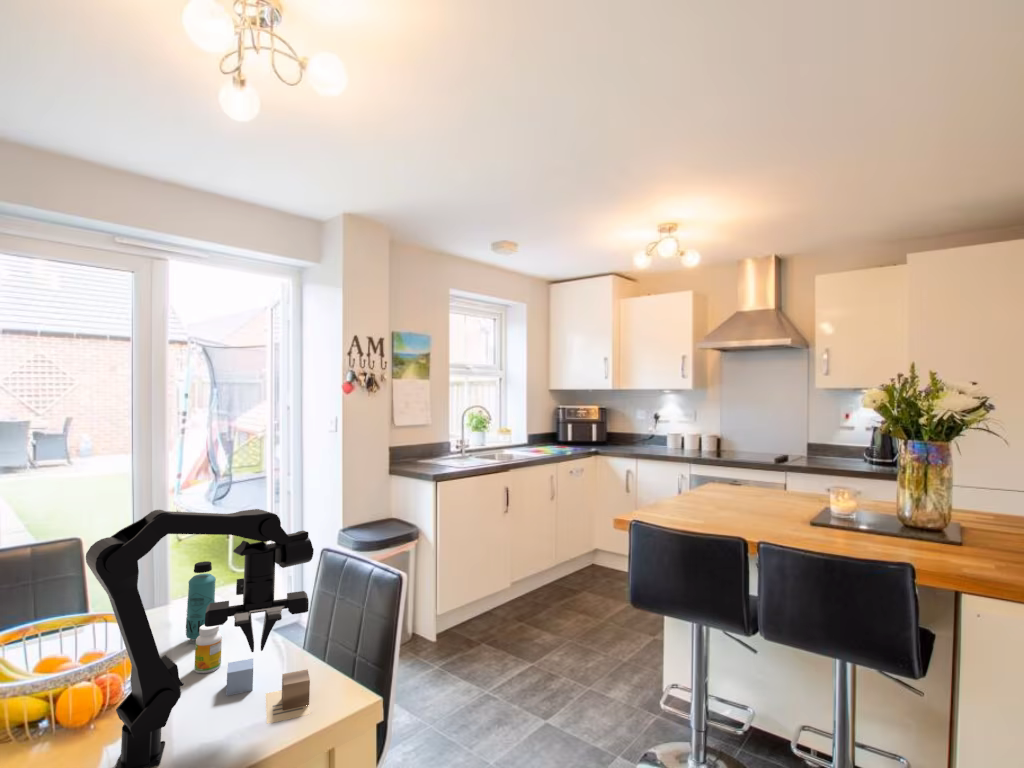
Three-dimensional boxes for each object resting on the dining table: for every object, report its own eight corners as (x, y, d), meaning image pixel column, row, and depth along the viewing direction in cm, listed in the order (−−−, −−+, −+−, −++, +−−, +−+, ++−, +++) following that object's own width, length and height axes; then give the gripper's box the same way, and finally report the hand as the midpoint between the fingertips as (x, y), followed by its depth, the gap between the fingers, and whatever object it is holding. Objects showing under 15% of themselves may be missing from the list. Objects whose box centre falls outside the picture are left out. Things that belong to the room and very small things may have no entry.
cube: (252, 691, 116) (253, 668, 116) (226, 697, 113) (227, 673, 114) (252, 681, 120) (253, 658, 120) (227, 685, 118) (228, 662, 118)
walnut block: (309, 704, 110) (309, 680, 110) (282, 710, 108) (283, 685, 108) (306, 693, 115) (307, 669, 115) (281, 698, 113) (282, 673, 113)
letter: (310, 714, 107) (310, 713, 107) (266, 724, 104) (266, 723, 104) (305, 686, 118) (305, 685, 118) (265, 694, 114) (265, 693, 114)
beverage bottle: (186, 636, 142) (189, 560, 143) (215, 632, 145) (217, 557, 145) (183, 647, 136) (186, 567, 137) (213, 642, 139) (216, 564, 140)
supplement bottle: (189, 670, 124) (190, 627, 125) (211, 660, 129) (213, 619, 129) (203, 676, 122) (205, 632, 122) (225, 666, 127) (227, 624, 127)
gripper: (305, 557, 121) (303, 627, 120) (210, 567, 112) (207, 642, 112) (309, 571, 111) (307, 648, 110) (206, 583, 102) (203, 666, 102)
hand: (257, 650), depth 109 cm, fingers closed
